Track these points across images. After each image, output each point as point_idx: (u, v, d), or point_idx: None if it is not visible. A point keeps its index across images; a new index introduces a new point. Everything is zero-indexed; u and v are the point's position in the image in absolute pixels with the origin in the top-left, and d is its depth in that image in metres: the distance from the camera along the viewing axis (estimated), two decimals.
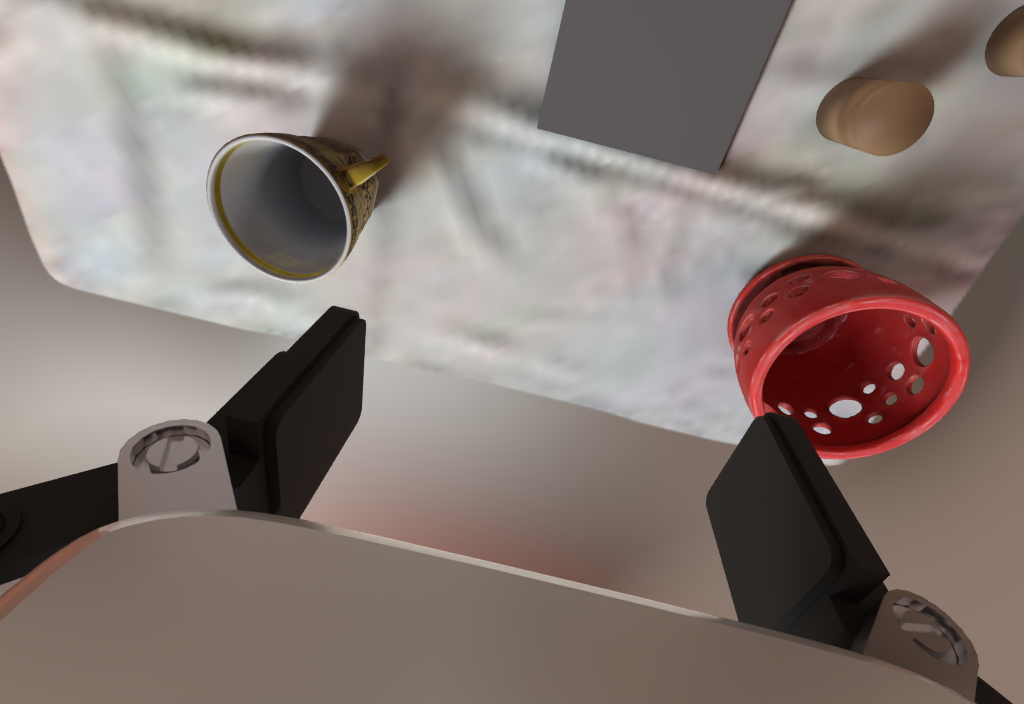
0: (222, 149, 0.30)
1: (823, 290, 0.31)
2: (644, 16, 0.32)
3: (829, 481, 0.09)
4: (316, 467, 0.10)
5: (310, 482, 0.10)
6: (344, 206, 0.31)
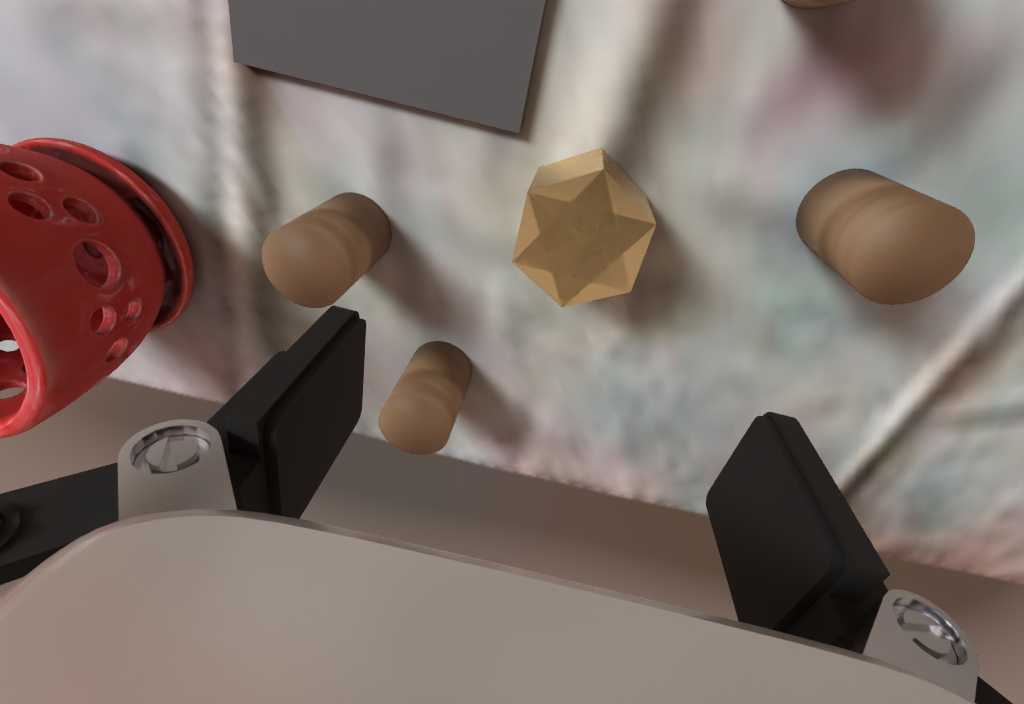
0: None
1: (23, 236, 0.19)
2: None
3: (829, 481, 0.09)
4: (316, 467, 0.10)
5: (310, 482, 0.10)
6: None
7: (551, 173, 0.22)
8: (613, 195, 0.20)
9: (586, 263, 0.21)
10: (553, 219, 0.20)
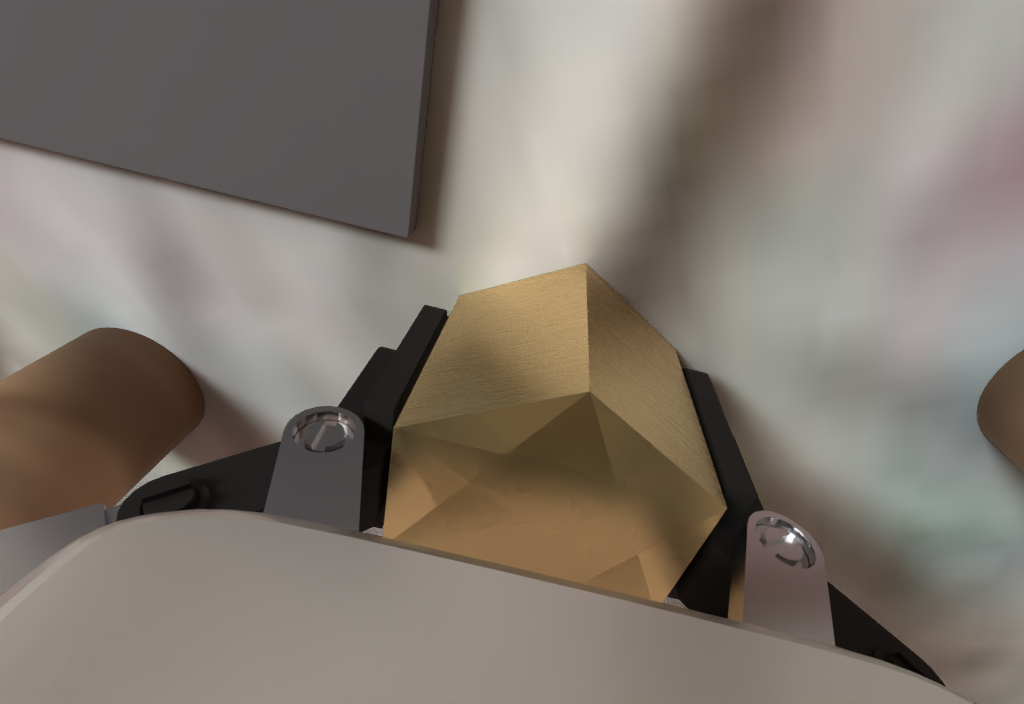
0: None
1: None
2: None
3: (725, 424, 0.10)
4: None
5: None
6: None
7: (470, 342, 0.09)
8: (615, 447, 0.07)
9: (551, 563, 0.09)
10: (466, 483, 0.08)
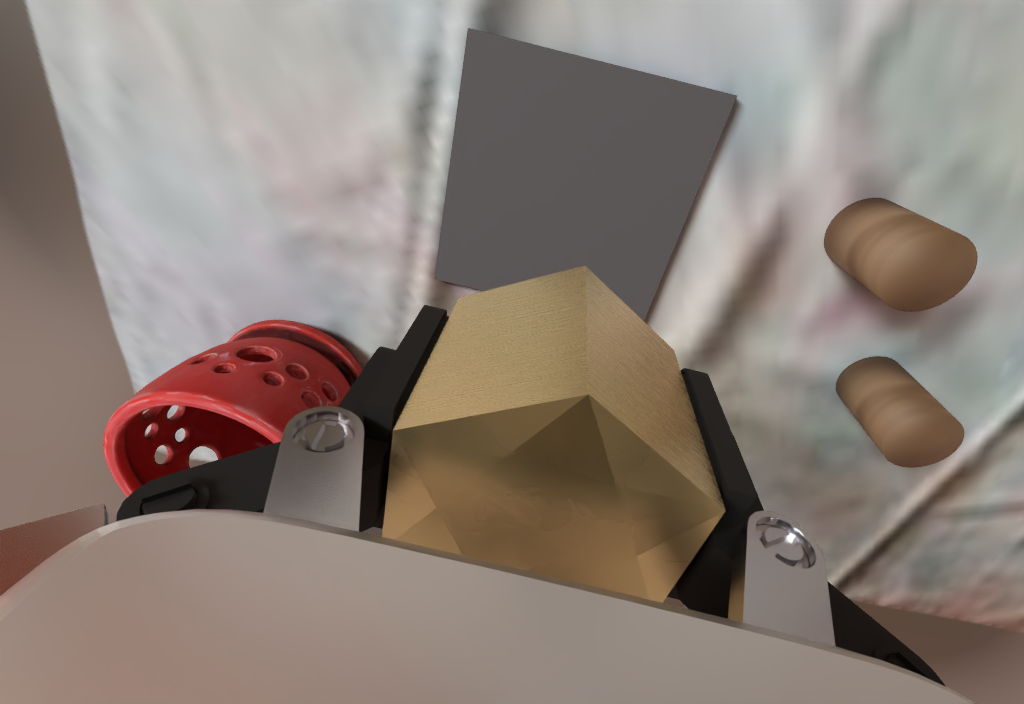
0: None
1: None
2: (594, 174, 0.27)
3: (725, 424, 0.10)
4: None
5: None
6: None
7: (470, 344, 0.09)
8: (614, 449, 0.07)
9: (550, 564, 0.09)
10: (465, 485, 0.08)
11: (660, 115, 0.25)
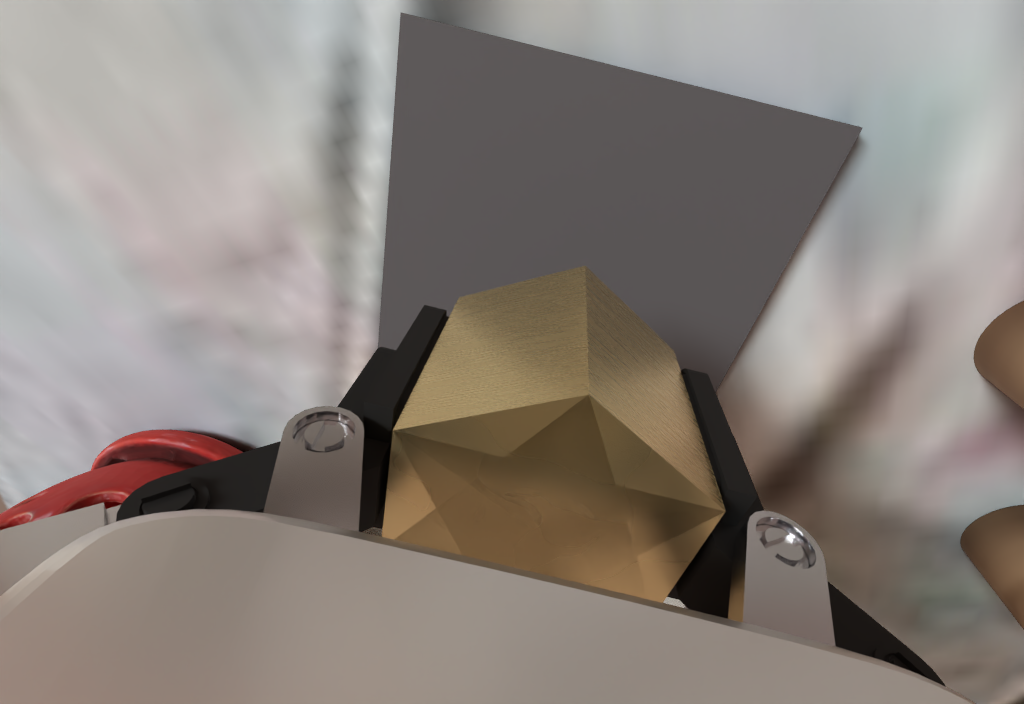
0: None
1: None
2: (613, 248, 0.17)
3: (725, 424, 0.10)
4: None
5: None
6: None
7: (470, 344, 0.09)
8: (614, 449, 0.07)
9: (550, 565, 0.09)
10: (465, 485, 0.08)
11: (726, 159, 0.15)
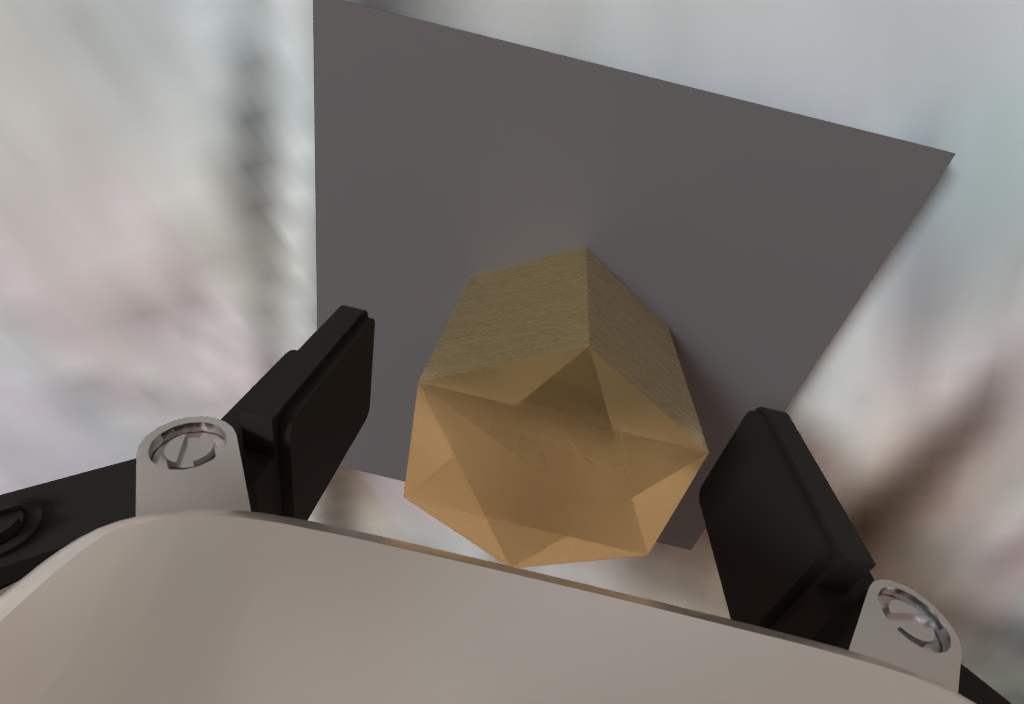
0: None
1: None
2: None
3: (818, 474, 0.09)
4: (326, 464, 0.10)
5: (321, 479, 0.10)
6: None
7: (483, 313, 0.11)
8: (612, 396, 0.08)
9: (555, 508, 0.10)
10: (480, 433, 0.09)
11: (764, 194, 0.11)
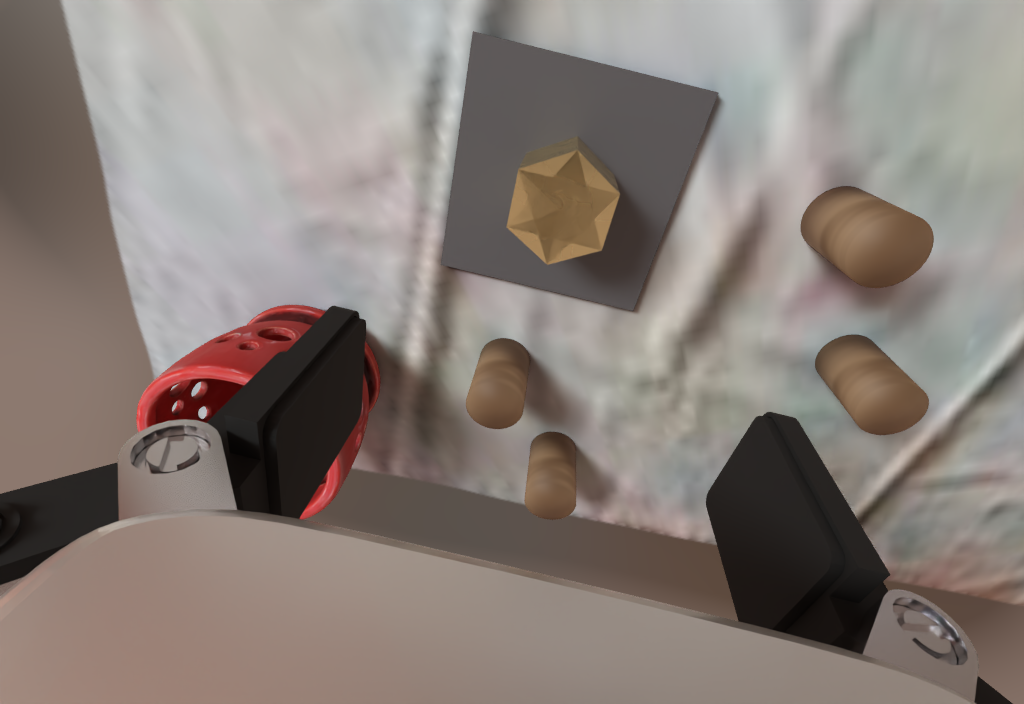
0: None
1: None
2: None
3: (829, 481, 0.09)
4: (316, 467, 0.10)
5: (310, 482, 0.10)
6: None
7: (537, 156, 0.27)
8: (585, 171, 0.25)
9: (565, 227, 0.27)
10: (539, 191, 0.26)
11: (649, 111, 0.28)
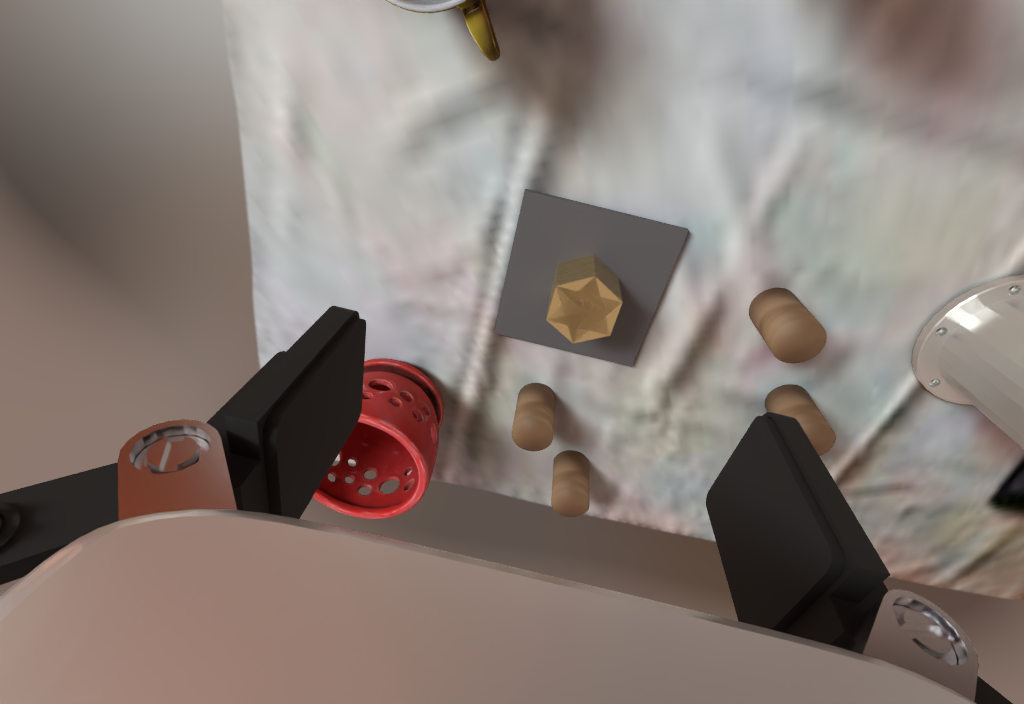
0: None
1: (422, 433, 0.44)
2: None
3: (829, 481, 0.09)
4: (316, 467, 0.10)
5: (310, 482, 0.10)
6: (440, 6, 0.26)
7: (566, 272, 0.40)
8: (600, 288, 0.38)
9: (586, 321, 0.40)
10: (569, 299, 0.39)
11: (642, 240, 0.41)
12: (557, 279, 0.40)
